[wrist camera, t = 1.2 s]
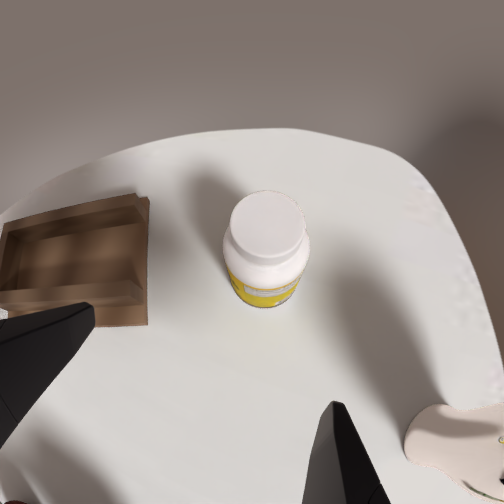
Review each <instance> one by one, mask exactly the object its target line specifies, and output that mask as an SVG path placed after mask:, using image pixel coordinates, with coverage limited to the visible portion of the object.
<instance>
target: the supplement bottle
mask: <svg viewBox="0 0 504 504" xmlns="http://www.w3.org/2000/svg"><path fill="white" fill-rule="evenodd" d="M309 253H310V240H309V236H308V233H307V230H306V228H305V218H304V214H303V212H302V210H301V208H300V207H299V206H298V204H297V203H296V202H295V201H294V200H293V199H291V198H290V197H289V196H287V195H285V194H282V193H279V192H276V191H258V192H254V193H252V194H249V195H247V196H246V197H244V198H243V199H242V200H240V201H239V202H238V203H237V205H236V206H235V207H234V209H233V211H232V214H231V217H230V224H229V226H228V228H227V229H226V232H225V235H224V238H223V255H224V260H225V263H226V266H227V269H228V273H229V276H230V279H231V283H232V286H233V288H234V290H235V292H236V294H237V295H238V297H239V298H240V299H241V300H242V301H243V302H245V303H246V304H248V305H250V306H252V307H255V308H260V309H269V308H274V307H277V306H279V305H281V304H283V303H284V302H286V301H287V300H288V299H289V298H290V297H291V295H292V294H293V292H294V291H295V289H296V286H297V284H298V282H299V280H300V277H301V275H302V273H303V271H304V268H305V266H306V264H307V261H308V258H309Z"/></svg>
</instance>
